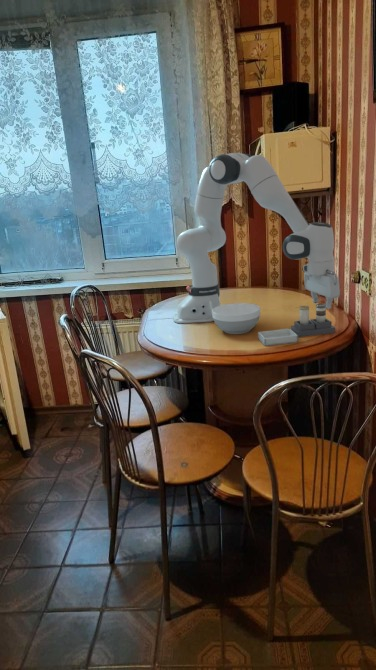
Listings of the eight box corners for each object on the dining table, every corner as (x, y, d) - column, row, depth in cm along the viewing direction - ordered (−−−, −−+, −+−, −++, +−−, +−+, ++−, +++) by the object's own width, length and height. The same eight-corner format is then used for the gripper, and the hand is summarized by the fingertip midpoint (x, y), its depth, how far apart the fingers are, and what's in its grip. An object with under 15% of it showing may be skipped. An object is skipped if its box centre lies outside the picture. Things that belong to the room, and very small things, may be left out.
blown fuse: (318, 327, 173) (318, 306, 171) (314, 325, 176) (314, 304, 174) (327, 326, 173) (327, 305, 171) (323, 323, 177) (323, 303, 174)
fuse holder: (298, 337, 171) (298, 326, 170) (291, 330, 178) (290, 320, 177) (335, 332, 172) (335, 322, 171) (326, 326, 180) (326, 316, 178)
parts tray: (264, 346, 164) (264, 339, 164) (258, 338, 173) (258, 332, 172) (298, 342, 165) (297, 335, 165) (289, 334, 174) (289, 328, 173)
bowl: (213, 325, 195) (211, 304, 192) (258, 321, 194) (257, 301, 191) (213, 339, 177) (212, 316, 174) (263, 335, 176) (263, 313, 173)
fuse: (301, 329, 172) (301, 308, 170) (298, 326, 176) (297, 306, 173) (310, 328, 173) (310, 307, 170) (307, 325, 176) (307, 305, 174)
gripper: (344, 271, 159) (344, 310, 163) (316, 263, 178) (316, 299, 182) (327, 273, 158) (327, 312, 162) (300, 265, 177) (301, 301, 181)
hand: (321, 305), depth 172 cm, fingers open, 8 cm apart
